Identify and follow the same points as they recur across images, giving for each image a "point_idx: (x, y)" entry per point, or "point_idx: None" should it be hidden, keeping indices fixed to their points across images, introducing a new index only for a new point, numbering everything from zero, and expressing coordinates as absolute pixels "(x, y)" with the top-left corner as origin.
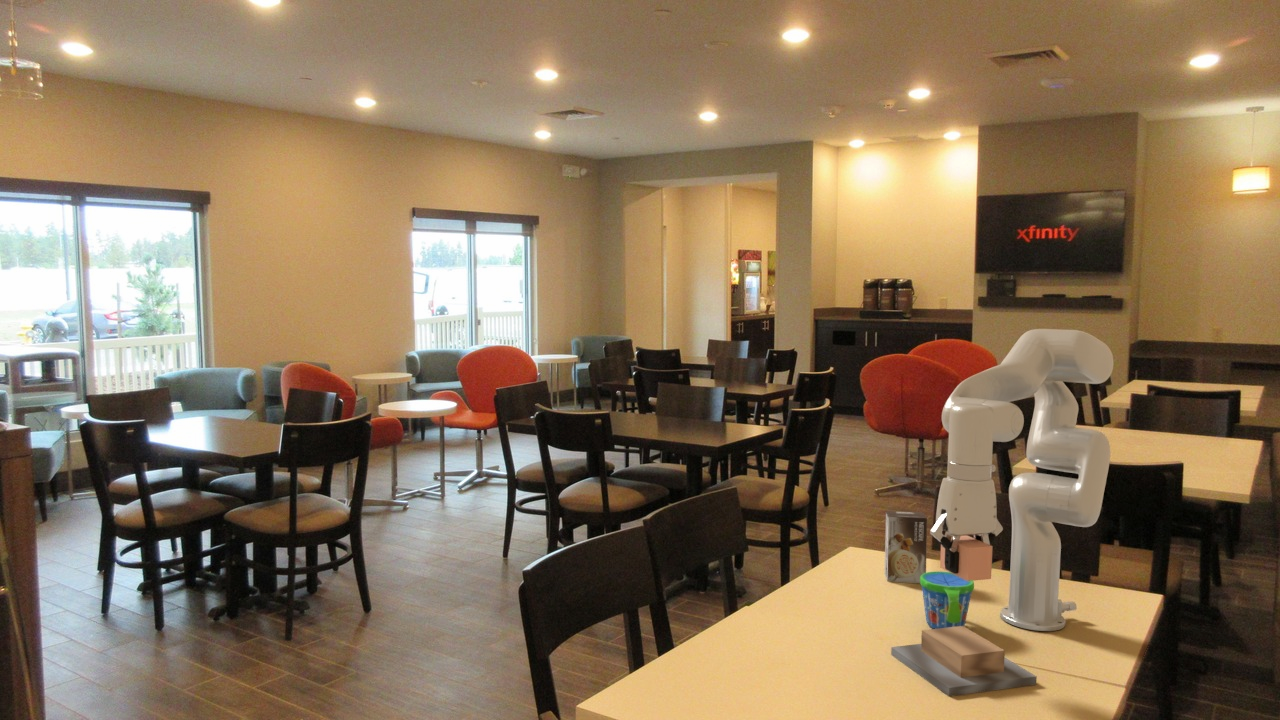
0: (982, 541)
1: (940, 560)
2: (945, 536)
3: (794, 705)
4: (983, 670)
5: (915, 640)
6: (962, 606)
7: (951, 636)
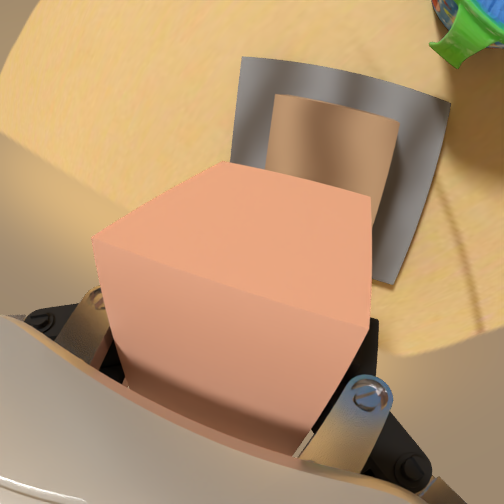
0: (298, 456)
1: (203, 172)
2: (63, 340)
3: (65, 163)
4: None
5: (350, 21)
6: (496, 45)
7: (315, 156)
